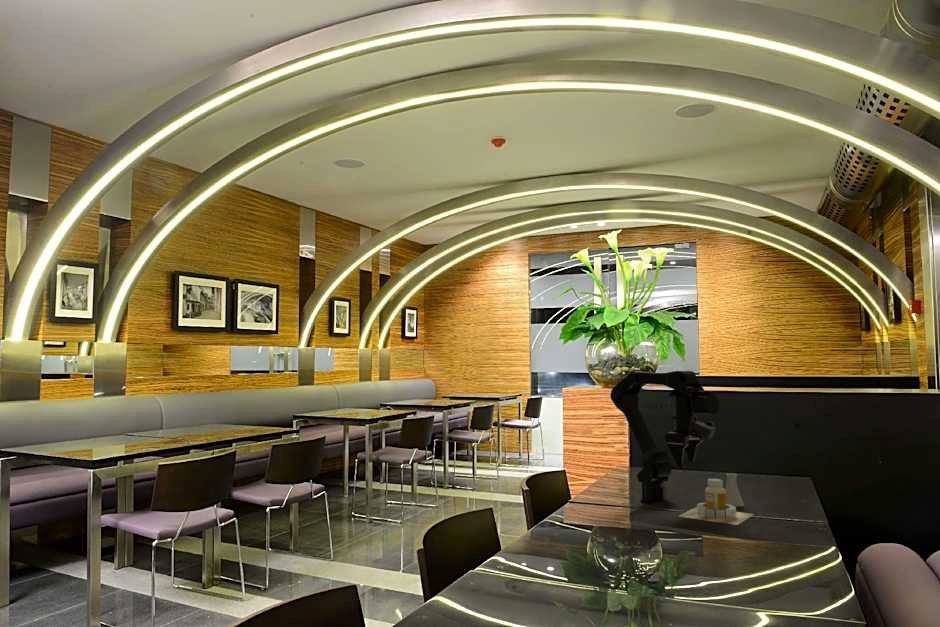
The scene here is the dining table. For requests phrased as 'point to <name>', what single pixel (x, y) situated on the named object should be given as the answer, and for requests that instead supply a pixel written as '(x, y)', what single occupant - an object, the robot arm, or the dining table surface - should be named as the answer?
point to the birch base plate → (737, 520)
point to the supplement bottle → (715, 494)
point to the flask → (733, 491)
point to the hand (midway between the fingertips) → (685, 464)
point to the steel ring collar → (716, 512)
